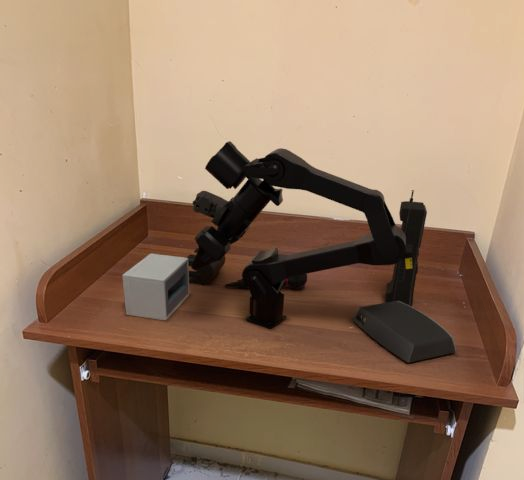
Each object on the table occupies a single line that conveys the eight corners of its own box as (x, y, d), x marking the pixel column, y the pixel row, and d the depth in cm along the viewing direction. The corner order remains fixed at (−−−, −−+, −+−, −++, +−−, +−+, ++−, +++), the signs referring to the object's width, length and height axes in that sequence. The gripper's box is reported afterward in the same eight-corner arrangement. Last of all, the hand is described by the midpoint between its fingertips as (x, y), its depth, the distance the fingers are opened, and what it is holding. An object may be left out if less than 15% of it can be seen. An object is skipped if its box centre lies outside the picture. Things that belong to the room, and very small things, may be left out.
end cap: (213, 287, 125) (213, 260, 122) (185, 283, 127) (184, 256, 123) (225, 272, 134) (225, 247, 131) (199, 269, 135) (199, 243, 132)
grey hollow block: (189, 295, 121) (188, 258, 116) (165, 320, 109) (163, 280, 104) (153, 290, 122) (150, 253, 118) (126, 314, 111) (122, 274, 106)
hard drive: (398, 313, 117) (401, 296, 115) (458, 354, 102) (463, 335, 100) (349, 321, 112) (351, 304, 110) (404, 365, 97) (408, 346, 95)
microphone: (226, 302, 125) (308, 292, 126) (224, 283, 121) (309, 274, 122) (225, 287, 129) (305, 278, 130) (222, 269, 125) (305, 259, 125)
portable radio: (412, 311, 118) (434, 200, 106) (385, 308, 119) (404, 197, 107) (410, 297, 125) (431, 191, 112) (385, 294, 126) (403, 189, 113)
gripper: (228, 168, 107) (186, 222, 115) (198, 186, 91) (151, 248, 99) (268, 205, 109) (225, 256, 117) (245, 230, 93) (196, 287, 101)
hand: (200, 261), depth 108 cm, fingers open, 9 cm apart
